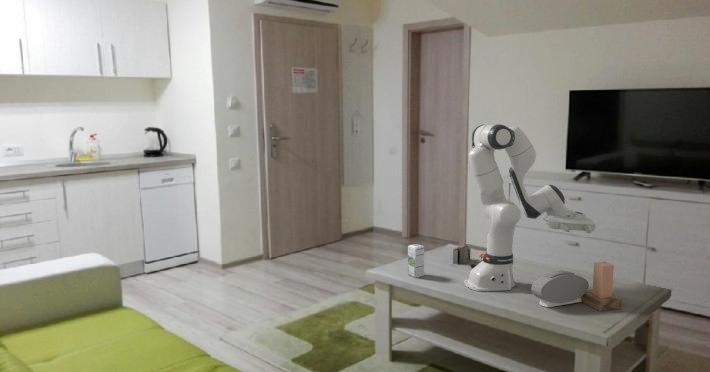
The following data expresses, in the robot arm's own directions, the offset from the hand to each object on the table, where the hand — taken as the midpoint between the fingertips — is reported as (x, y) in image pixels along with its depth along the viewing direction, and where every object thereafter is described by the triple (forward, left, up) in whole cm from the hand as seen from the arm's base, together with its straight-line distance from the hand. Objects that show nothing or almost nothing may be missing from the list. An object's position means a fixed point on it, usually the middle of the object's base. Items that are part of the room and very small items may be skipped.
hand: (579, 231), depth 225 cm
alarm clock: (-13, -8, -27) cm, 31 cm away
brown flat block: (-25, +57, -28) cm, 69 cm away
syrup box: (-56, +43, -27) cm, 75 cm away
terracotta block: (+1, -14, -23) cm, 27 cm away
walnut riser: (+1, -14, -27) cm, 31 cm away
